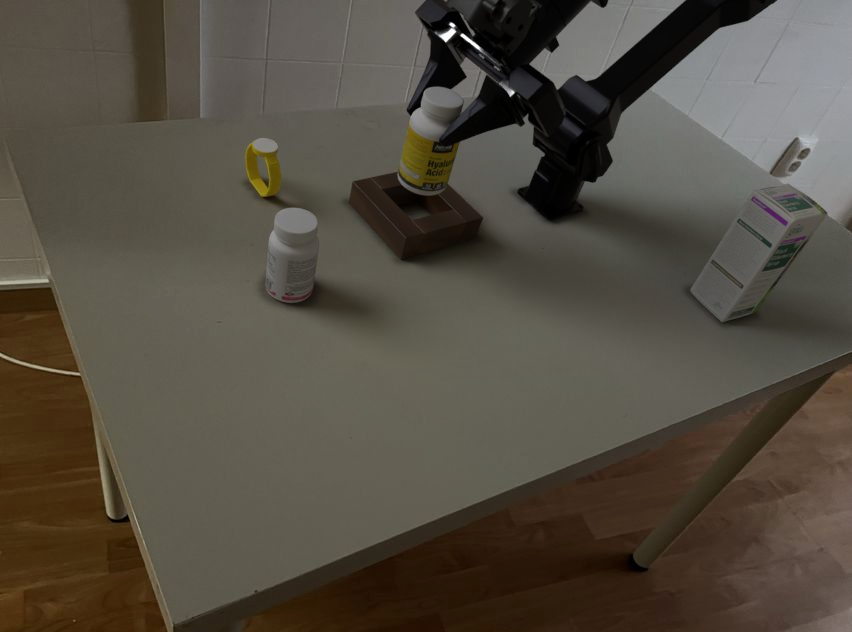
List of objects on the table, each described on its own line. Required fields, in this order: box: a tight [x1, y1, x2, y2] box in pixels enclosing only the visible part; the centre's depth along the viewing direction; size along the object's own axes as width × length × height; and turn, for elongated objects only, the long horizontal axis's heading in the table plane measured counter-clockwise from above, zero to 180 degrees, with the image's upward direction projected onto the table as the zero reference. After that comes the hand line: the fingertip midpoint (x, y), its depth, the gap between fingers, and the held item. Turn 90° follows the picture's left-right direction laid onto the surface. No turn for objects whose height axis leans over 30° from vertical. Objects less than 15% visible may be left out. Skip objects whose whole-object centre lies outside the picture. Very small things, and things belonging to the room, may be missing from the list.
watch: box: [244, 137, 282, 198], centre depth 80 cm, size 6×3×6 cm, turn 35°
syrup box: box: [689, 183, 828, 323], centre depth 78 cm, size 6×6×14 cm
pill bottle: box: [265, 207, 320, 304], centre depth 68 cm, size 5×5×8 cm
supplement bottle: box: [397, 87, 465, 196], centre depth 72 cm, size 5×5×10 cm
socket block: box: [348, 171, 484, 261], centre depth 82 cm, size 11×11×3 cm
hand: (424, 128), depth 70 cm, fingers closed on supplement bottle, 5 cm apart
